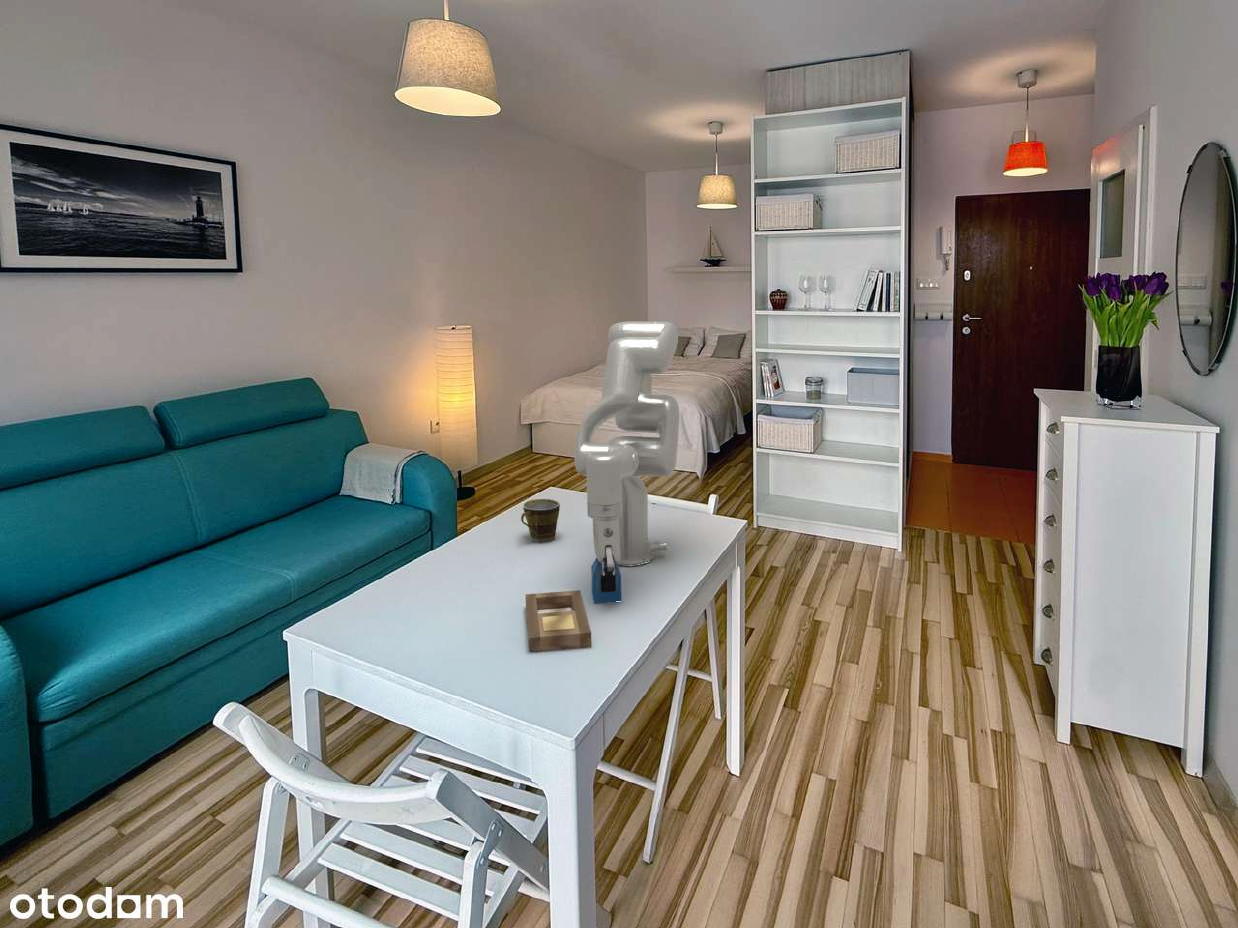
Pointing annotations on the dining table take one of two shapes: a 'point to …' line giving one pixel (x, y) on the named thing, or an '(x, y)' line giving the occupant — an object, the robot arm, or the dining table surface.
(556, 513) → the ceramic cup
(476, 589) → the dining table surface
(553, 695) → the dining table surface
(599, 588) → the perfume bottle
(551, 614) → the frame
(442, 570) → the dining table surface
